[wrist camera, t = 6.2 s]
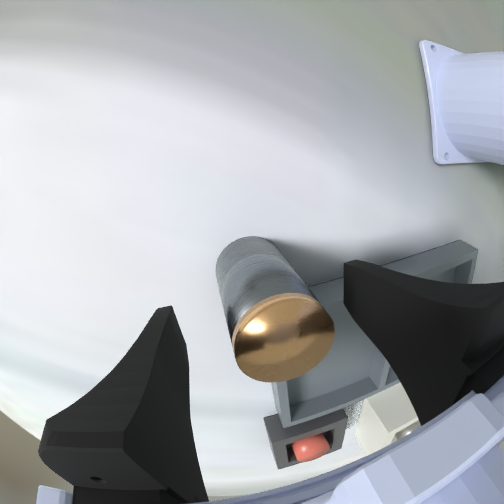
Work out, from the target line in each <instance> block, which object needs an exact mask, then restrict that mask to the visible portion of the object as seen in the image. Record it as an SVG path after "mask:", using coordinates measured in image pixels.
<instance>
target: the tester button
mask: <svg viewBox="0 0 504 504" xmlns="http://www.w3.org/2000/svg"><path fill="white" fill-rule="evenodd" d="M291 445H292V448H293V450H294V453H295V456H296V458H297V460H298V461H299V462H307V461H311V460H314V459H317V458H319V457H321V456H323V455H324V454H326V453H327V452H328V451H329V449H330V446H329V444H328V442H327V440H326V438H325V436H324V434H323V433H321V434H318V435H315V436H312V437H309V438H306V439H303V440H300V441H297V442H293V443H291Z"/></svg>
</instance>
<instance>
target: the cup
mask: <svg viewBox="0 0 504 504" xmlns="http://www.w3.org/2000/svg"><path fill="white" fill-rule="evenodd" d="M418 420H419V419H418V417H417V415H416V412H415V410H414V408H413V406H412V404H411V401H410V399H409V397H408V395H407V393H406V391H405V390H404V388H403V386H402V384H401V383H398V384H396V385H394V386H392V387H390V388H388V389H386V390H383V391H381V392H379V393H377V394H375V395H373V396H370V397H368V398H366V399H364V400H363V404H362V408H361V413H360V417H359V421H358V424H357V428H356V432H355V435H354V436H355V437H356V439H357V441H358V443H359V445H360V446H361V448H362V450H363V452H364V454H365V455H366V456H368V455H370V454H372V453H374V452H376V451H378V450H380V449H382V448H384V447H386V446H388V445H390V444H392V443H393V442H395V441H397V439H396V437H395V434H396V433H397V432H399V431H400V430H402V429H404V428H406V427H408V426H409V425H411V424H413V423H414V422H416V421H418Z"/></svg>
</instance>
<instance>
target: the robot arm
mask: <svg viewBox="0 0 504 504" xmlns="http://www.w3.org/2000/svg"><path fill="white" fill-rule="evenodd" d="M419 47H420V52H421V56H422V61H423V66H424V72H425V78H426V84H427V90H428V98H429V106H430V115H431V125H432V139H433V157H434V161H435V162H436V163H437V164H458V163H478V162H493V163H497V164H501V165H504V51H499V52H482V53H470V54H464V53H461V52H459V51H456V50H453V49H451V48H448V47H445V46H443V45H440V44H437V43H434V42H431V41H428V40H422V41H420V43H419ZM444 156H445V157H444ZM343 303H344V305H345V307H346V308H347V310H348V312H349V313H350V315H351V317H352V318H353V320H354V321H355V322H356V323H357V325H358V326H359V327H360V328H361V329H362V331H363V332H364V333H365V334H366V335H367V337H368V338H369V339H370V340H371V341H372V342H373V344H374V345H375V346H376V347H377V348H378V350H379V351H380V352H381V353H382V354H383V356H384V357H385V358H386V360H387V361H388V363H389V364H390V366H391V368H392V369H393V371H394V372H395V374H396V375H397V377H398V379H399V381H400V383H401V384H402V386H403V388H404V390H405V391H406V393H407V395H408V397H409V399H410V401H411V404H412V406H413V408H414V410H415V412H416V415H417V417H418V419H419V422H420V424H421V427H420V428H418V429H416V430H415V431H413V432H411V433H410V434H408V435H406V436H404V437H403V438H401V439H399V440H397V441H395V442H393V443H392V444H390V445H388V446H386V447H384V448H382V449H380V450H378V451H376V452H374V453H372V454H370V455H368V456H365V457H363V458H361V459H359V460H357V461H354V462H352V463H350V464H347V465H345V466H342V467H340V468H337V469H335V470H332V471H330V472H327V473H324V474H321V475H319V476H316V477H313V478H310V479H307V480H304V481H301V482H297V483H294V484H291V485H287V486H284V487H280V488H276V489H272V490H268V491H264V492H260V493H255V494H251V495H246V496H241V497H235V498H229V499H223V500H216V501H209V500H208V496H207V493H206V490H205V486H204V483H203V479H202V475H201V471H200V467H199V462H198V458H197V453H196V448H195V443H194V438H193V432H192V426H191V418H190V397H189V362H188V354H187V347H186V343H185V340H184V338H183V335H182V332H181V330H180V327H179V324H178V321H177V319H176V316H175V313H174V310H173V307H172V306H167V307H162V308H158V309H157V310H156V311H155V313H154V314H153V316H152V317H151V319H150V320H149V322H148V323H147V325H146V327H145V328H144V330H143V331H142V333H141V334H140V336H139V337H138V339H137V340H136V341H135V343H134V344H133V345H132V347H131V348H130V349H129V351H128V352H127V353H126V355H125V356H124V357H123V358H122V360H121V361H120V362H119V363H118V364H117V365H116V366H115V368H114V369H113V370H112V371H111V372H110V373H109V374H108V375H107V376H106V377H105V378H104V379H103V380H102V381H100V382H99V383H98V384H97V385H96V386H95V387H94V388H93V389H92V390H91V391H89V392H88V393H87V394H86V395H84V396H83V397H82V398H80V399H79V400H78V401H76V402H75V403H73V404H72V405H70V406H69V407H67V408H66V409H64V410H63V411H61V412H59V413H58V414H56V415H54V416H52V417H51V418H49V419H47V420H46V424H45V427H44V431H43V434H42V438H41V442H40V446H39V450H38V452H39V456H40V458H41V459H42V461H43V462H44V463H45V464H46V465H47V466H48V467H49V468H50V469H51V470H53V471H54V472H55V473H57V474H58V475H59V476H61V477H62V478H64V479H65V480H66V481H68V482H69V483H71V484H72V485H73V486H74V490H73V493H71V492H68V491H66V490H62V489H56V488H51V487H47V486H42V485H40V486H39V488H38V495H37V502H36V504H504V451H503V450H502V449H501V448H500V446H499V444H500V443H501V442H502V441H503V440H504V282H499V283H489V284H460V283H449V282H441V281H435V280H429V279H424V278H420V277H416V276H412V275H408V274H404V273H401V272H397V271H394V270H391V269H388V268H384V267H381V266H378V265H375V264H371V263H368V262H364V261H359V260H354V261H350V262H346V263H344V295H343Z"/></svg>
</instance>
